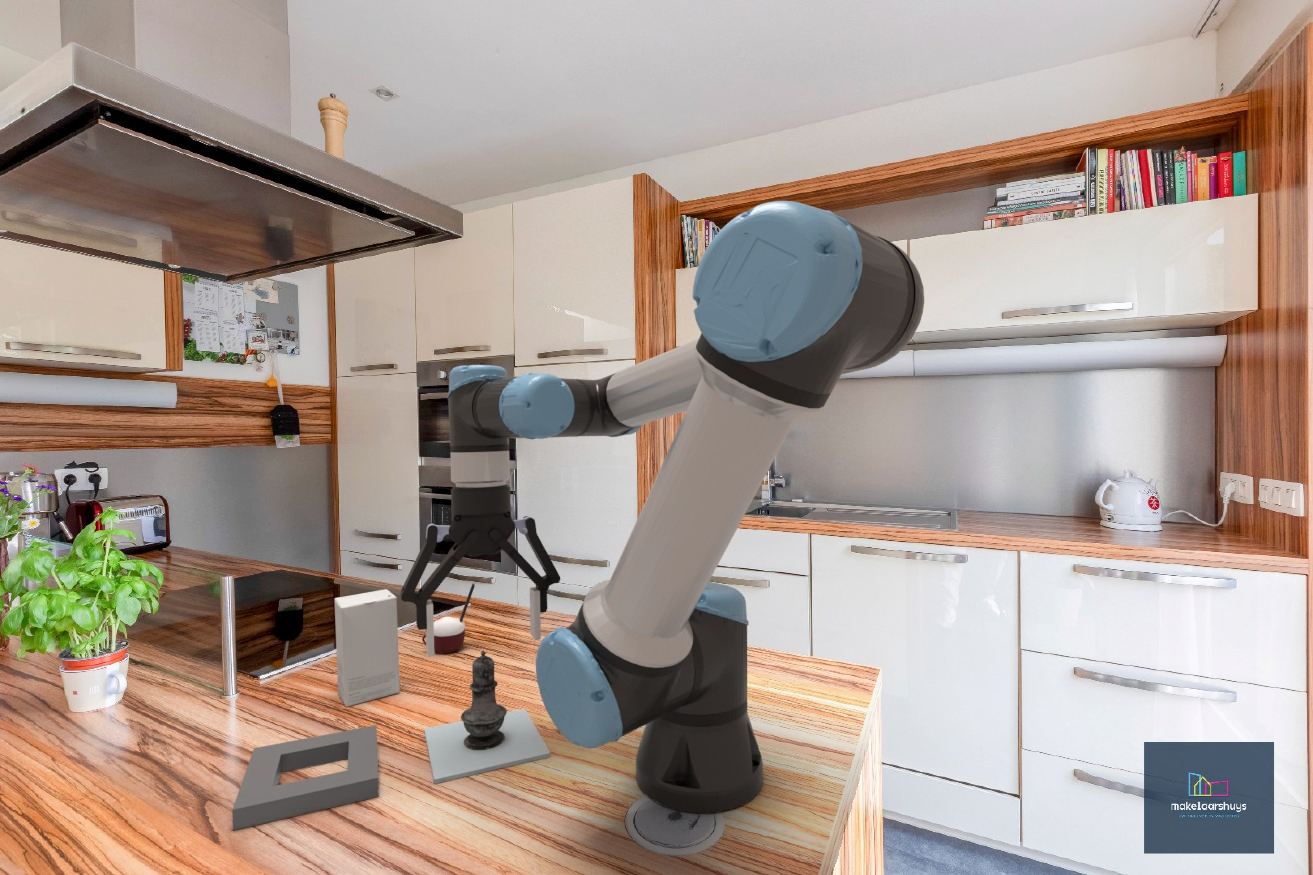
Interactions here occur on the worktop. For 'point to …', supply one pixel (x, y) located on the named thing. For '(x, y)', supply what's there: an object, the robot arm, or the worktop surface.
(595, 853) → the worktop surface
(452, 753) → the mat
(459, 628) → the cocoa
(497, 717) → the salt shaker
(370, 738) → the grey square frame
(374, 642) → the skincare box
